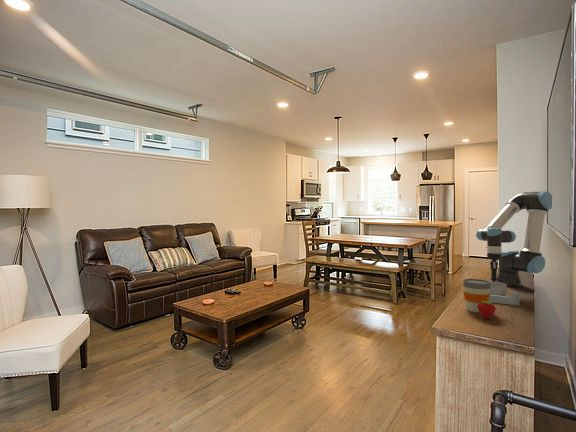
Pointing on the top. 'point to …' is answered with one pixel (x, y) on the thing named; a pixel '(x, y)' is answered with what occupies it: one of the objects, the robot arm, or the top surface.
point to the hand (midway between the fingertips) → (493, 290)
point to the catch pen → (505, 299)
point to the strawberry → (486, 309)
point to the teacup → (498, 288)
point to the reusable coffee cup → (475, 293)
